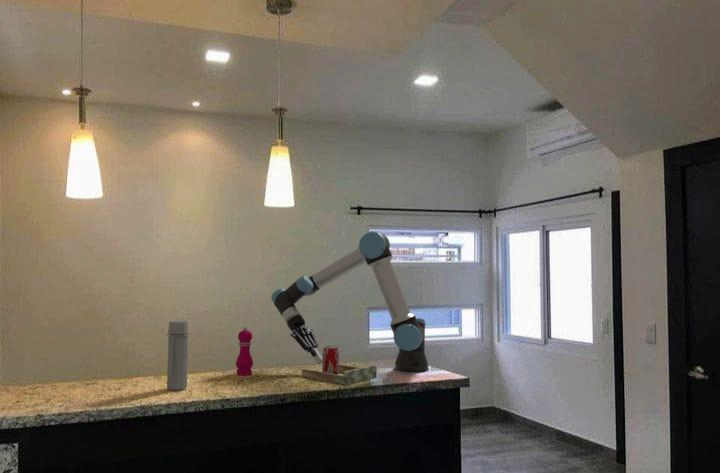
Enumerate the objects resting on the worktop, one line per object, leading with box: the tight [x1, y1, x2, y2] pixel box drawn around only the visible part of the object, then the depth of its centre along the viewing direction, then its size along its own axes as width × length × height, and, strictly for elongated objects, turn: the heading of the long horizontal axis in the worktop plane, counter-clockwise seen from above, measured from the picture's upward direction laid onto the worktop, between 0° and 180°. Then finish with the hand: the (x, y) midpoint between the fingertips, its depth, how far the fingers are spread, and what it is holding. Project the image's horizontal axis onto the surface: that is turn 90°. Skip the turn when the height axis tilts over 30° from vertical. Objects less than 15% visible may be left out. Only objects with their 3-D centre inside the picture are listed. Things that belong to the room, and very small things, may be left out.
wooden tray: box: [301, 363, 378, 385], centre depth 259 cm, size 20×24×5 cm
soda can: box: [321, 345, 340, 375], centre depth 262 cm, size 7×7×12 cm
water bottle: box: [166, 320, 190, 392], centre depth 229 cm, size 9×8×25 cm
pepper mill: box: [235, 326, 254, 377], centre depth 261 cm, size 7×7×20 cm
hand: (320, 361), depth 264 cm, fingers closed
